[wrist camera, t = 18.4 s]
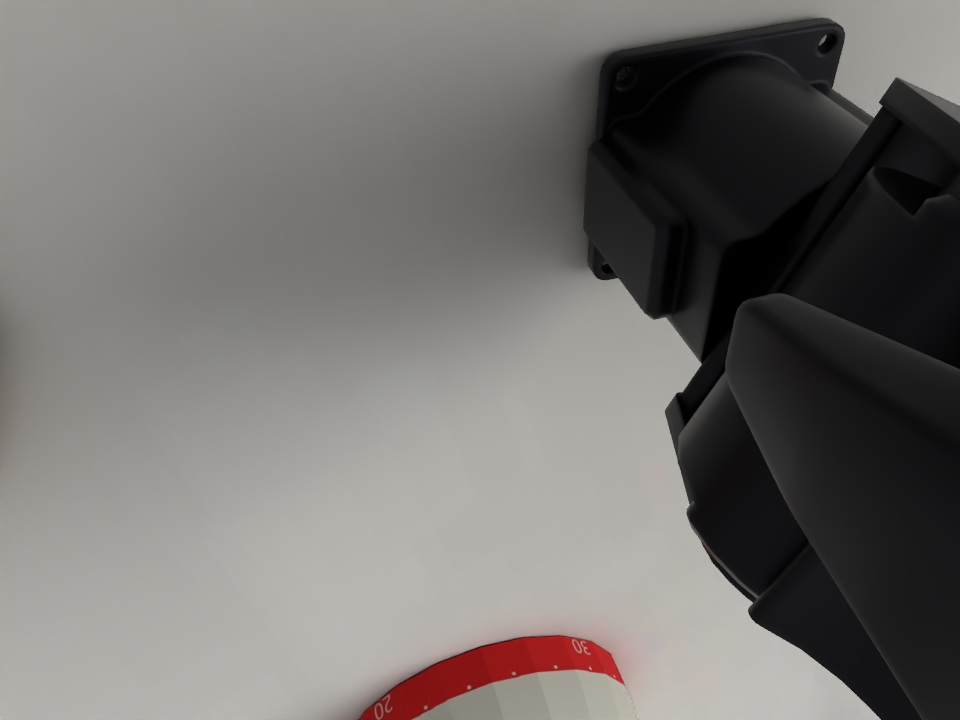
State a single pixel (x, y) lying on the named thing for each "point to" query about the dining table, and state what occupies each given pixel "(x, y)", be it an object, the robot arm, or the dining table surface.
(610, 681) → the kitchen timer
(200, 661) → the dining table surface
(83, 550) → the dining table surface
